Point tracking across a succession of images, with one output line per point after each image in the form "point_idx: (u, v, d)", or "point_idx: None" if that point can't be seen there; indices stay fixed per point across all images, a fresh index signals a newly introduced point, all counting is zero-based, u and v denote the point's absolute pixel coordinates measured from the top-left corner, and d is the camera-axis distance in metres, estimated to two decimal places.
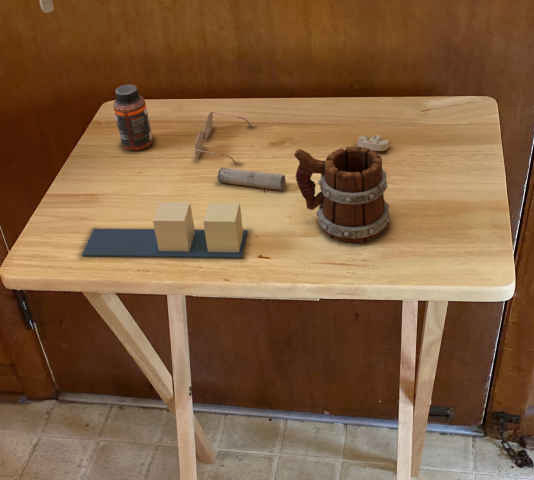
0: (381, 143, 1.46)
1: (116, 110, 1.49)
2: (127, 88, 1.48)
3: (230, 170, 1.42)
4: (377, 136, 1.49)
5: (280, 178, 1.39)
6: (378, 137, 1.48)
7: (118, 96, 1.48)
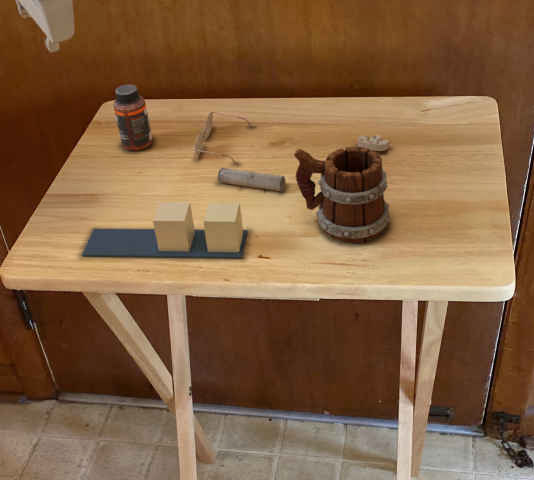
0: (381, 143, 1.46)
1: (116, 110, 1.49)
2: (127, 88, 1.48)
3: (230, 170, 1.42)
4: (377, 136, 1.49)
5: (280, 179, 1.39)
6: (378, 137, 1.48)
7: (118, 96, 1.48)
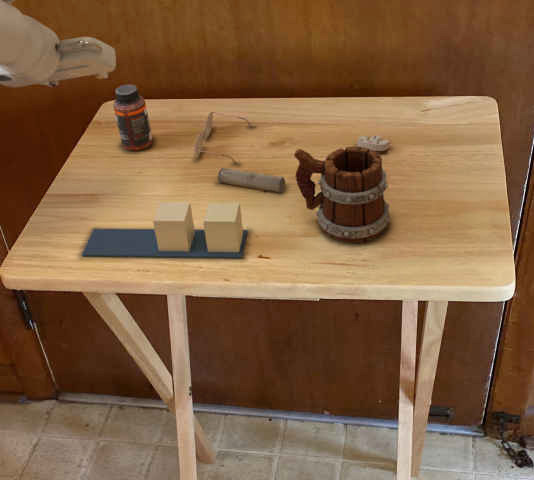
0: (381, 143, 1.46)
1: (116, 110, 1.49)
2: (127, 88, 1.48)
3: (230, 170, 1.42)
4: (377, 136, 1.49)
5: (279, 180, 1.39)
6: (378, 137, 1.48)
7: (118, 96, 1.48)
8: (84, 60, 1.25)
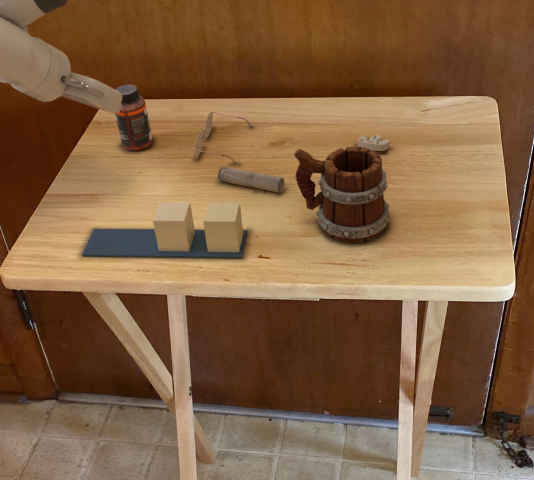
0: (381, 143, 1.46)
1: None
2: (127, 88, 1.48)
3: (230, 169, 1.42)
4: (377, 136, 1.49)
5: (278, 180, 1.38)
6: (378, 137, 1.48)
7: None
8: (83, 99, 1.31)
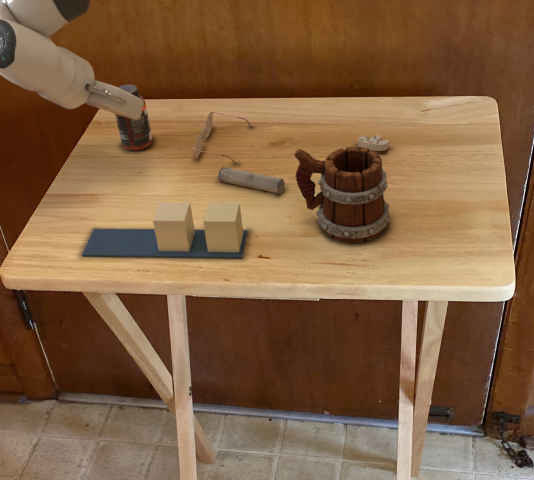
0: (381, 143, 1.46)
1: None
2: (127, 88, 1.48)
3: (231, 170, 1.42)
4: (377, 136, 1.49)
5: (278, 182, 1.38)
6: (378, 137, 1.48)
7: None
8: (106, 106, 1.36)
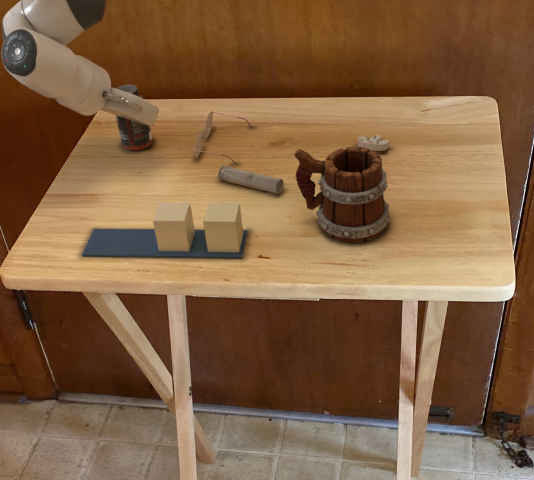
0: (381, 143, 1.46)
1: None
2: (127, 88, 1.48)
3: (231, 169, 1.42)
4: (377, 136, 1.49)
5: (277, 182, 1.38)
6: (378, 137, 1.48)
7: None
8: (123, 113, 1.39)
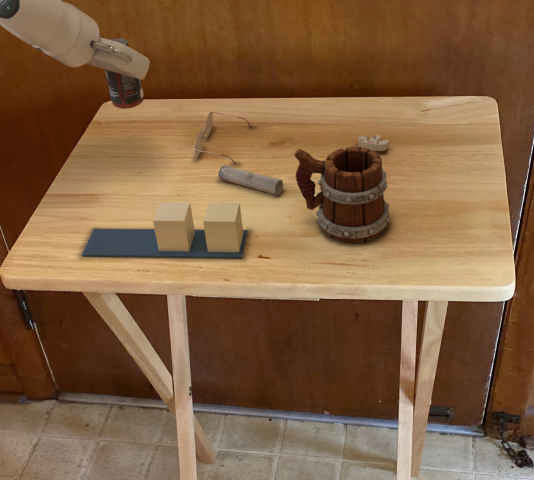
0: (381, 143, 1.46)
1: None
2: None
3: (231, 169, 1.42)
4: (377, 136, 1.49)
5: (276, 183, 1.38)
6: (378, 137, 1.48)
7: None
8: (111, 63, 1.33)
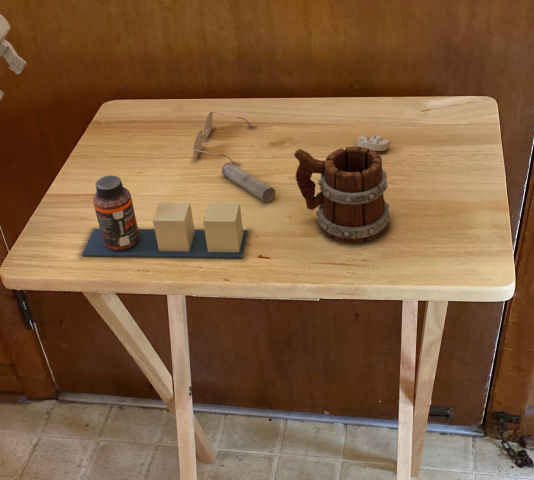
0: (381, 143, 1.46)
1: None
2: (109, 182, 1.25)
3: (233, 167, 1.42)
4: (377, 136, 1.49)
5: (265, 189, 1.37)
6: (378, 137, 1.48)
7: None
8: None
